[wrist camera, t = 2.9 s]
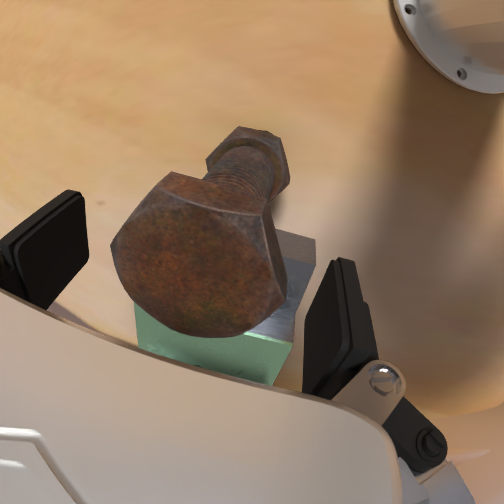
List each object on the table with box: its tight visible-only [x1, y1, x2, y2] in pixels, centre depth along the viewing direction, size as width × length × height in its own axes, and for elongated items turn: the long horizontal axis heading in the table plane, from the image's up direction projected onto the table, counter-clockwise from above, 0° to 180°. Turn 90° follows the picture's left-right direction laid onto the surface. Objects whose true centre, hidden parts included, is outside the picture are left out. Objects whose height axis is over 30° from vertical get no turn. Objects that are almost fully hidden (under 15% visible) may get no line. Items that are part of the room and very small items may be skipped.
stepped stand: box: [134, 229, 316, 386], centre depth 26 cm, size 20×12×10 cm, turn 168°
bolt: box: [110, 126, 290, 338], centre depth 15 cm, size 6×5×15 cm
